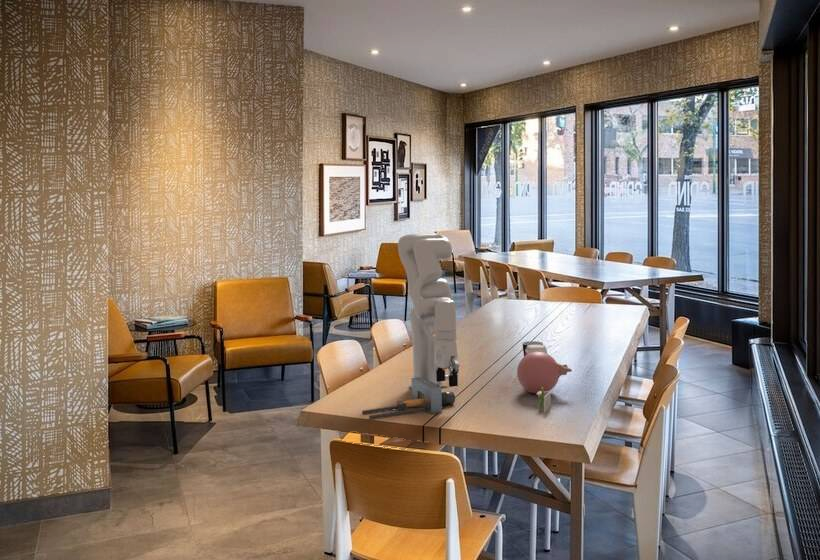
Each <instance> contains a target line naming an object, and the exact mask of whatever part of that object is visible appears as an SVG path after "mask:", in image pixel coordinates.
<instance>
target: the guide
mask: <svg viewBox="0 0 820 560" xmlns="http://www.w3.org/2000/svg"><path fill="white" fill-rule="evenodd" d="M393 409H396V411H393ZM385 410H389V411H392V412H386V411H385ZM378 411H382V413H379V412H378ZM421 411H422V412H426V411H425V407H418V408H411V409H406V410H404V411H397V405H391V406H385V407H384V406H383V407H379V408H371V409H363V410H362V411H361V413H362V415H366V414H367V413H368V414H370V415H368V414H367V415H368V419H369V420H375V419H380V418H381V417H382V418H387V416H389V417H394V415H395V416H402V415H407V413H409V414H414V412H416V413H420V412H421ZM373 412H375V414H373ZM383 412H385V413H383ZM377 413H379V414H377ZM371 414H372V415H371ZM401 414H402V415H401Z"/></svg>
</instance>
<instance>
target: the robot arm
mask: <svg viewBox="0 0 820 560" xmlns="http://www.w3.org/2000/svg"><path fill="white" fill-rule="evenodd" d="M397 249H398V250H397V251H398V255H399V259H400V262H401V263H402V266H403V268H404V270H405V273H406V279H407V286H408V291H409V296H410V299H411V301H412V305H413V308H412V309H411V310H410V312H409V321H410V325H411V326H410V327H411V334H412V363H413V364H412V365H413V378H416V377H423V378H425V379H427V380H429V381H431V382H433V383H435V384H437V385H439V386H441V388H442V387H443V383H442V382H446V381H448V387H451V388H453V387H458V386H459V381H458V380H459V379H458V378H459V377H458V375H459V367H460V363H459V361H458V347H457V342H456V341H457V310H456V302H455V301H454V300H453V295H452V289H451V286H450V283H449V282H448V280H446V279H444V278H441V277H442V275H443V271H442V267H441V264H440V261H448V260H450V259H451V257H452V255H453V248H452V244H451V242H450V240H449V239H448V238H447V237H446V236H444V235H443V234H440V233H436V232H435V233H410V234H405V235H403V236H401V237H400V238H399V239H398V243H397ZM431 331H434V334H433V333H432V332H431ZM446 370H447V371H448V373H449V374H446ZM409 388H410V389H412V381H411V382H410V383H409Z"/></svg>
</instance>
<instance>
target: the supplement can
mask: <svg viewBox="0 0 820 560" xmlns="http://www.w3.org/2000/svg"><path fill="white" fill-rule="evenodd" d="M532 352H544V353H546V354H548V349H547V348H546V345H545V344H543V345H540V344H532V345H527V348H526V350H525V356H526V355H527V354H529V353H532Z"/></svg>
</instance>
